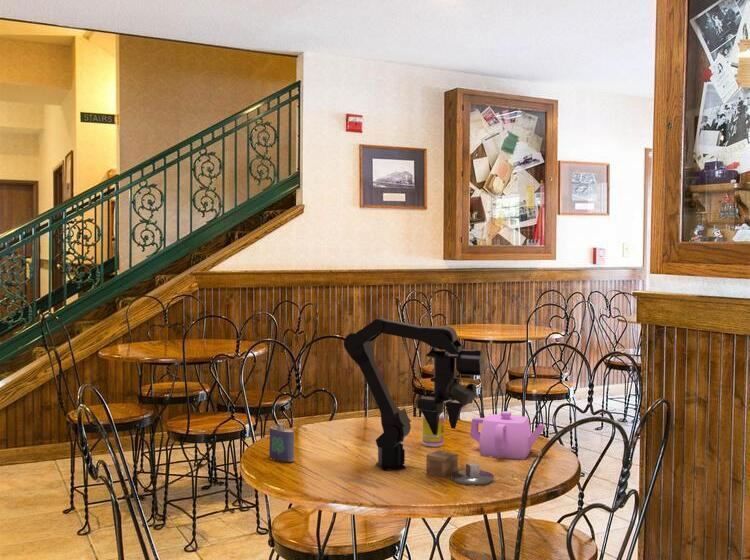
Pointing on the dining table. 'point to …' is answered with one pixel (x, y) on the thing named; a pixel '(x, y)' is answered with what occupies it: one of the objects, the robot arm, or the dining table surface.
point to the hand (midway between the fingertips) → (444, 431)
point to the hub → (472, 475)
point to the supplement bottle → (428, 436)
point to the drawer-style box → (441, 463)
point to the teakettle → (505, 435)
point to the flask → (281, 443)
